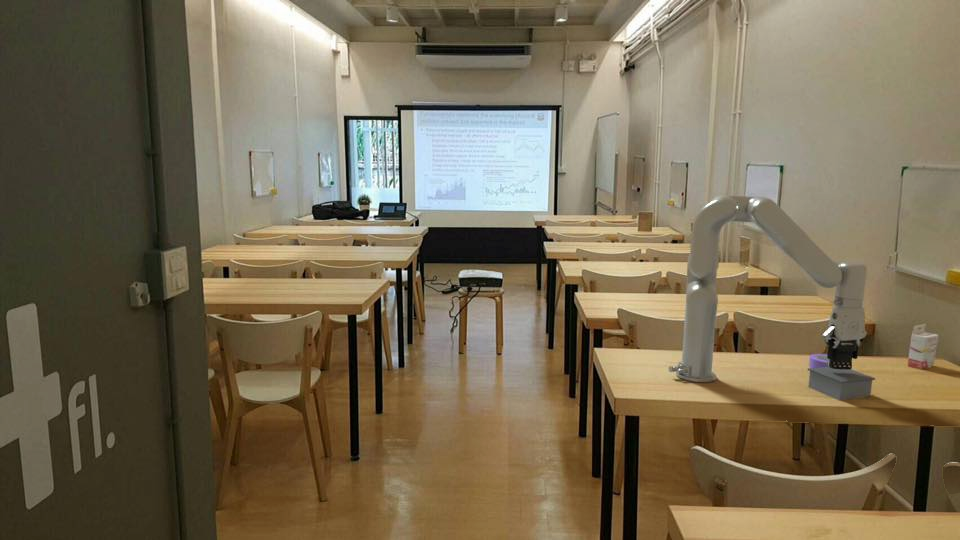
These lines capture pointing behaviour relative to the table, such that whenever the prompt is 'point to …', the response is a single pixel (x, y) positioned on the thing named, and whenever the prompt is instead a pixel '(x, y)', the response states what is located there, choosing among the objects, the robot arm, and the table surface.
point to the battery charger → (843, 355)
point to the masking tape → (818, 360)
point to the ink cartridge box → (922, 348)
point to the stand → (840, 382)
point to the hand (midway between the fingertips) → (842, 358)
